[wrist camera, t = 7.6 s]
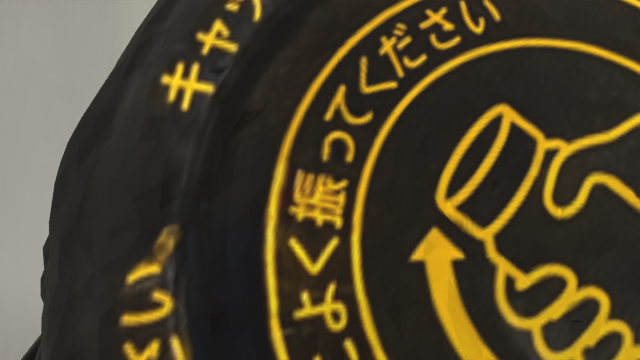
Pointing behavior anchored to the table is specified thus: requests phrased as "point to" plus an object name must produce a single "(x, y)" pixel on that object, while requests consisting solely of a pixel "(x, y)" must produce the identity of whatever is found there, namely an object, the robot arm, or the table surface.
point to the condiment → (355, 186)
